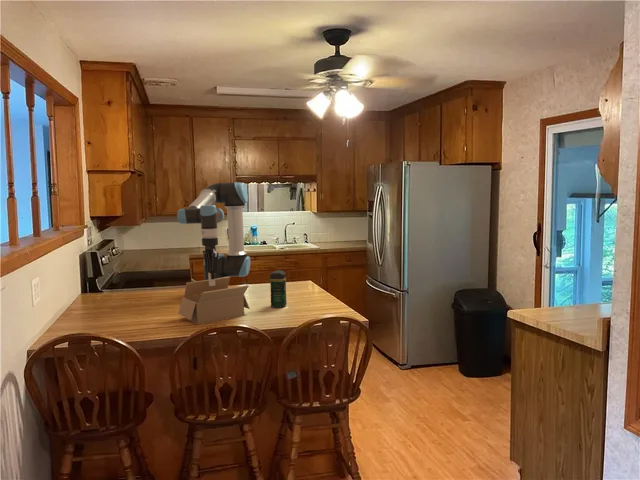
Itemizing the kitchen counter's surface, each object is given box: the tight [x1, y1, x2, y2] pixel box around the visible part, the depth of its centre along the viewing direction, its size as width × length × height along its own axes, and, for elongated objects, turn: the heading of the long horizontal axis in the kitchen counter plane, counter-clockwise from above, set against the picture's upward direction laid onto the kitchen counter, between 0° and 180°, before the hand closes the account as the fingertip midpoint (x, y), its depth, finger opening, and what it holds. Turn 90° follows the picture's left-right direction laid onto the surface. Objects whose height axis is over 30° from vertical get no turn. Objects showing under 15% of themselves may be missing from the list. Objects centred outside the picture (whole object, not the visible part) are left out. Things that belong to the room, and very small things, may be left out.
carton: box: [177, 294, 250, 326], centre depth 248 cm, size 16×31×10 cm, turn 127°
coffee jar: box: [269, 269, 288, 309], centre depth 265 cm, size 10×8×19 cm
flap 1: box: [183, 277, 231, 297], centre depth 252 cm, size 1×23×8 cm
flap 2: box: [199, 284, 249, 303], centre depth 237 cm, size 1×23×8 cm
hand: (212, 285), depth 247 cm, fingers closed
